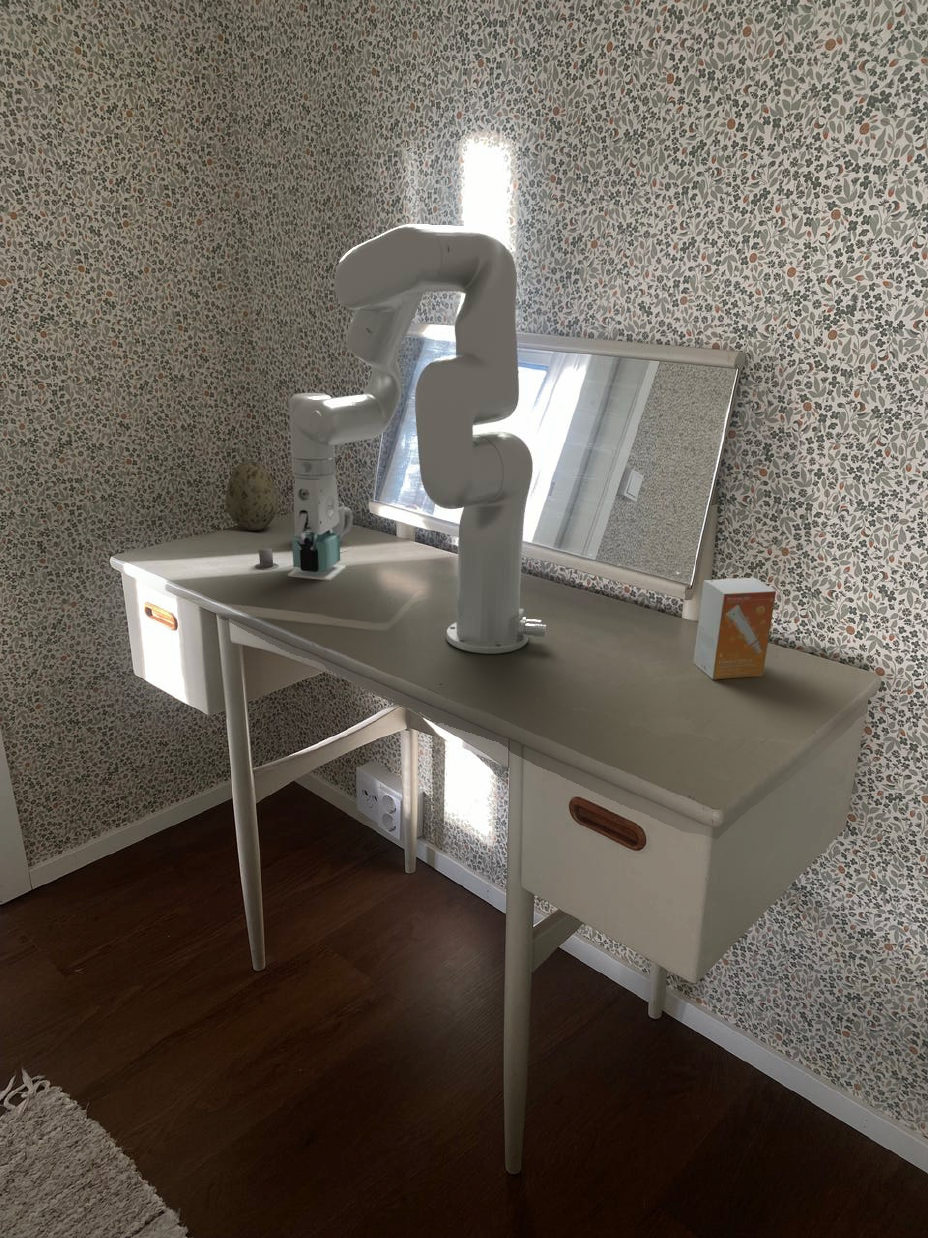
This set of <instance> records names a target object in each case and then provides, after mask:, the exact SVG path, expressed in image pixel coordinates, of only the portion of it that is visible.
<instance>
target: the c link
mask: <svg viewBox="0 0 928 1238" xmlns="http://www.w3.org/2000/svg"><path fill="white" fill-rule="evenodd" d="M306 532H312V531H306ZM306 538H309V540H310V541H311V538H312V536H306ZM291 545H292V566H293V568H297V567H298V568H301V567H300V550H299V544H298V541H297V539H296V538H295V537H294V538H293V539H292V541H291ZM315 550H318V569H319V570H328V569H330V568H331V567H332V566H334V565H337V564H338V563H339V562H340V561H341V541H340V534H336V533H324V534H322V535H317V541H316V549H315Z"/></svg>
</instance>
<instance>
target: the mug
mask: <svg viewBox="0 0 928 1238" xmlns="http://www.w3.org/2000/svg"><path fill="white" fill-rule="evenodd" d="M338 503H339V522H338V524H337V525H336V526H334V527H333V533H336V534H340V542H341V540H342V539H343V538H344V537H346V536H348V535H349V533H350V531H351V529H352V525H353V522H354V517H353V511H352V509H351V508H350V507H348V506H345V503H344V502H342V501H340V500H338ZM306 531H312V530H311V529H307V530H306ZM306 531H305V532H306Z"/></svg>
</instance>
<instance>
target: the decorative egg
mask: <svg viewBox="0 0 928 1238" xmlns="http://www.w3.org/2000/svg"><path fill="white" fill-rule="evenodd" d="M225 504H226V509H227V512H228V514H229V517H230V518H231V520H232V521H233V522H234V523H235V524H237V526H239V527H240V528H242V529H244V530H247V531H254V532H255V531H260V530H263V529H264V528H266V527H268V525H270V524H271V523H272V522H273V520H274V518H275V516H276V515H277V511H278V508H279V507H278V506H279V497H278V491H277V489H276V485H275V483H274V481H273V478H272V477H271V476H270V474H269V472H268V471H267V470H266V468H265V467H263V466H262V465H261V464H260V463H259V462H257V461H255V460H253V459H248V460H247V459H246V460H243V461H242V462H240V463H239V464H238V465H237V466H236V467H235V468H234V470H233V472H232V474H231V475H230V477H229V480H228V483H227V486H226V492H225Z"/></svg>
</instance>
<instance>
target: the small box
mask: <svg viewBox="0 0 928 1238" xmlns="http://www.w3.org/2000/svg"><path fill="white" fill-rule="evenodd" d="M702 582H703V584H702V592H701V598H700V599H701V601H700V606H699V607H700V608H699V615H698V616H699V617H698V623H697V631H696V640H695V649H694V655H693V664H694V665H695V666H696V667H697V668H698V669H700V670H701V671H702V672H703V673H704V674H706V676H708V677H709V678H710V679H711V680H714V681H715V680H722V679H735V678H736V679H737V678H750V677H763V675H764V670H765V662H766V659H767V653H768V645H769V638H770V632H771V625H772V618H773V612H774V607H775V601H776V594H777V590H775V589H774V588H772V587H770V586H768V585H767V584H766V583H763V582H762V581H760V580H759V579H758V578H755V577H747V578H742V577H741V578H740V577H739V578H736V577H735V578H734V577H733V578H720V579H708V580H707V579H704V580H703V581H702Z"/></svg>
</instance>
